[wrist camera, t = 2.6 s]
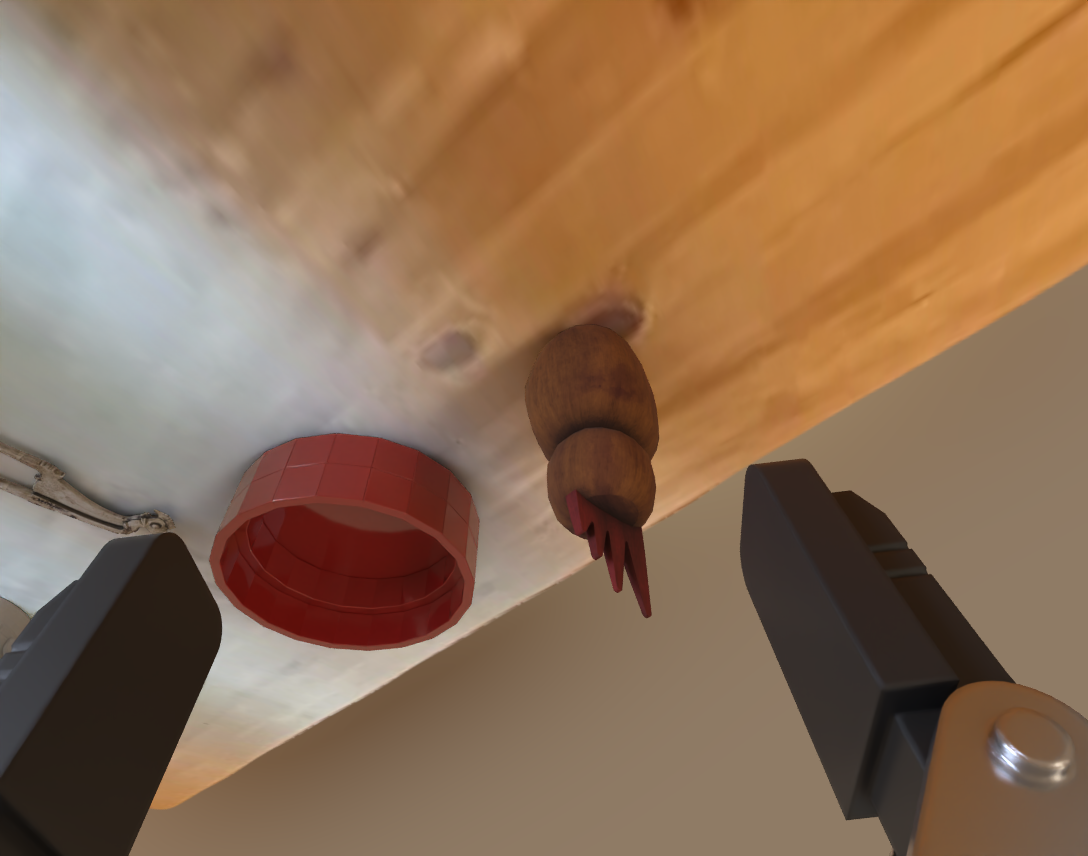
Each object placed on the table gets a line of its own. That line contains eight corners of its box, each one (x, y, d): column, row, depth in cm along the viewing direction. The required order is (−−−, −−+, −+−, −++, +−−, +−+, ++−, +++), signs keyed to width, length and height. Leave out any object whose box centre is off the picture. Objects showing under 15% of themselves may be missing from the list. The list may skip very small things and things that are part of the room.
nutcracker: (-132, 432, 37) (-113, 385, 35) (-120, 422, 38) (-101, 375, 36) (148, 558, 45) (180, 527, 42) (154, 548, 45) (186, 516, 43)
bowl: (299, 591, 49) (278, 659, 45) (196, 444, 39) (157, 514, 35) (499, 570, 48) (496, 639, 44) (446, 411, 38) (435, 481, 34)
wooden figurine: (660, 382, 37) (717, 622, 25) (566, 419, 38) (580, 659, 27) (612, 286, 32) (655, 520, 21) (510, 331, 34) (498, 571, 23)
